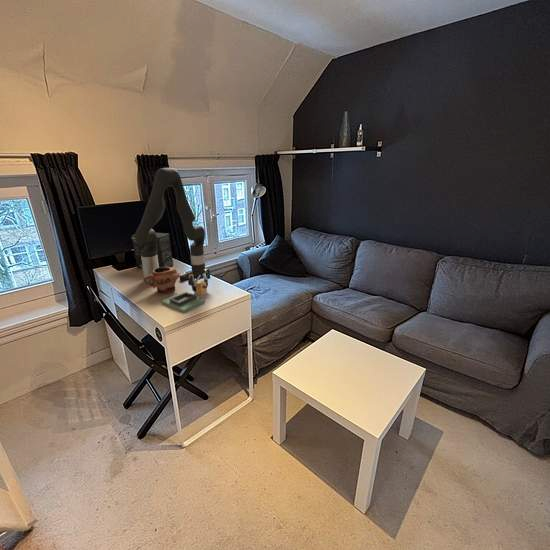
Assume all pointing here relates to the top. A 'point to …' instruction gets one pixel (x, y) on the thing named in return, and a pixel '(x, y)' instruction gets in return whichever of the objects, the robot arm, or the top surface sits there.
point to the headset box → (162, 252)
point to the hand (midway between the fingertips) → (200, 288)
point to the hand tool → (185, 276)
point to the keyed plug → (201, 288)
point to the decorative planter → (163, 279)
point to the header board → (183, 301)
